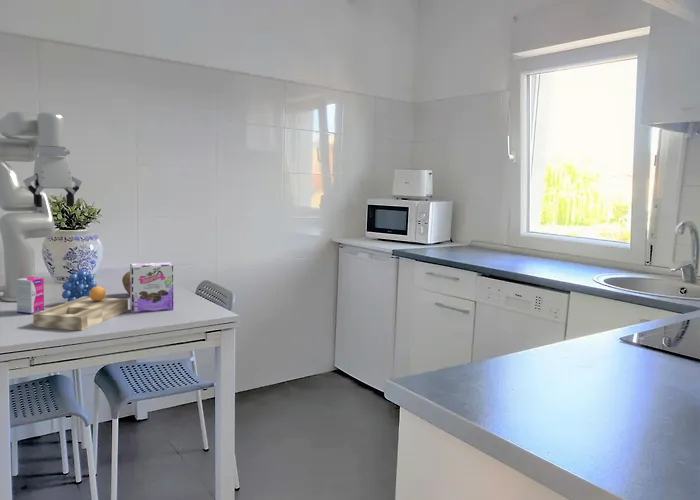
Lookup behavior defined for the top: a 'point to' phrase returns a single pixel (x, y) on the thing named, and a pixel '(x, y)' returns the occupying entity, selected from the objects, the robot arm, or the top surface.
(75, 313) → the wooden tray with pocket
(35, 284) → the supplement box
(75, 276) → the grapes
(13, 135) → the robot arm
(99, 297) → the ball
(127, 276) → the natural sponge
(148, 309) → the candy box
